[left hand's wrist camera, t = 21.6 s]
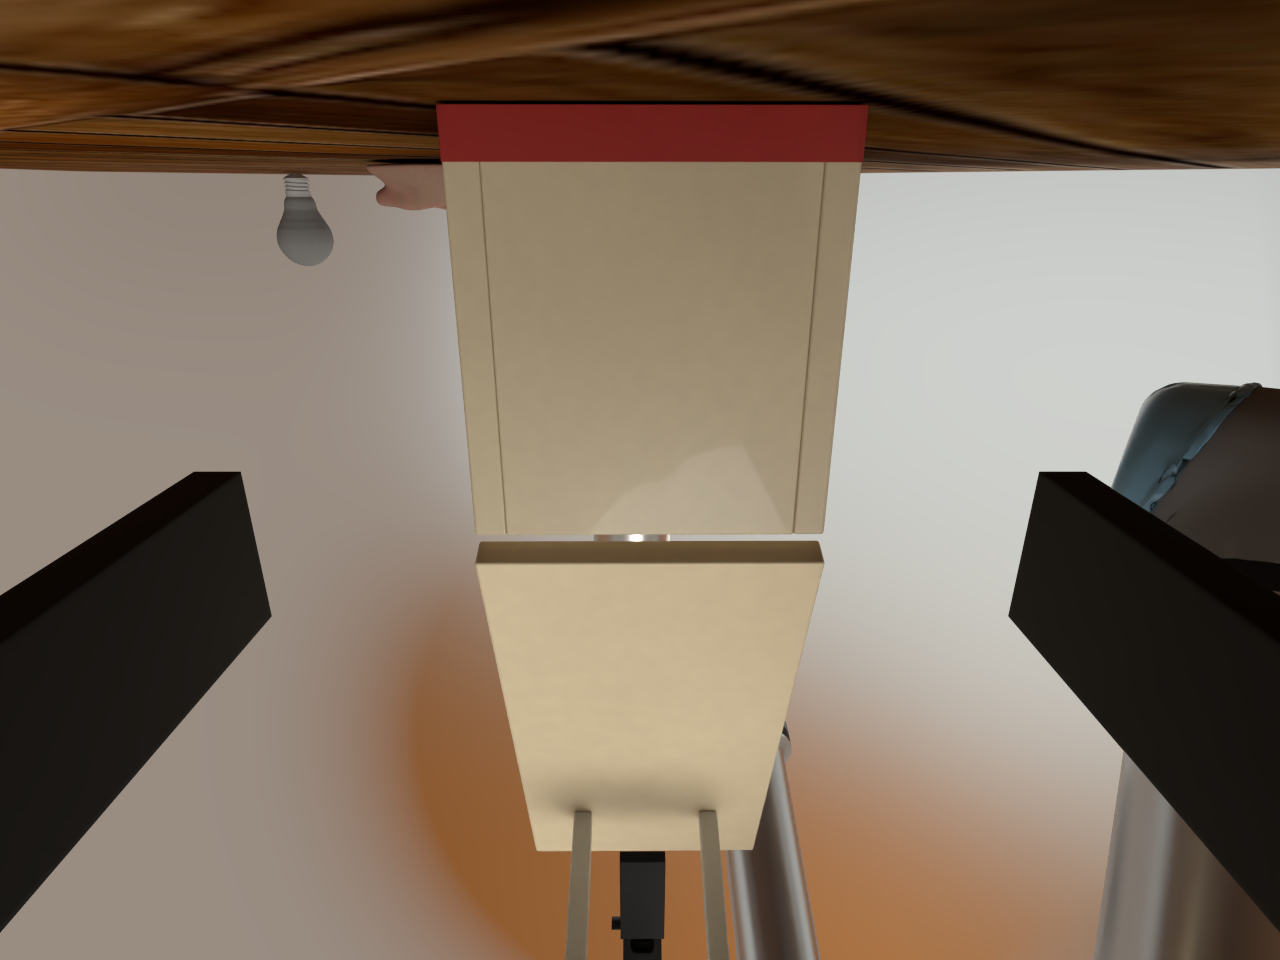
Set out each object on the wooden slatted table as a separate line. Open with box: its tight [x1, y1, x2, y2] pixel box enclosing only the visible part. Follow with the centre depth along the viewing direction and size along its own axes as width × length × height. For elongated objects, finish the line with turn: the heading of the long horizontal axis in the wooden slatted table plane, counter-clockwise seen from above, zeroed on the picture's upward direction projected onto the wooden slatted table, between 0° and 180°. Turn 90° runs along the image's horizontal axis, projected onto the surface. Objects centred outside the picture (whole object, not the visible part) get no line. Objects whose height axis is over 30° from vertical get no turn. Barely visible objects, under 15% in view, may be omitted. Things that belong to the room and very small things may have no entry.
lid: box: [475, 541, 824, 960], centre depth 23 cm, size 18×9×8 cm
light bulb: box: [277, 174, 334, 266], centre depth 85 cm, size 6×6×10 cm
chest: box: [436, 104, 869, 535], centre depth 26 cm, size 17×9×10 cm, turn 0°
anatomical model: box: [366, 163, 446, 210], centre depth 54 cm, size 13×4×12 cm
